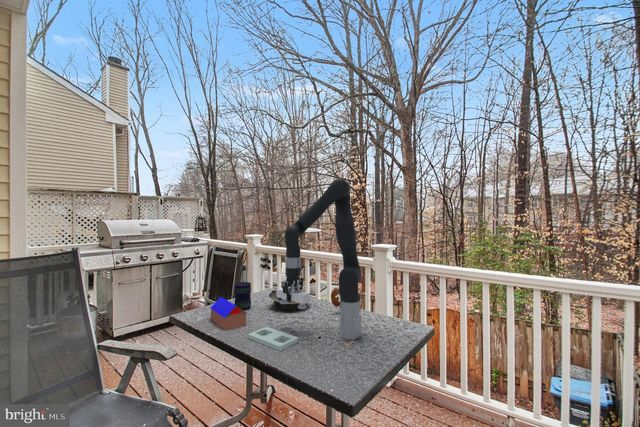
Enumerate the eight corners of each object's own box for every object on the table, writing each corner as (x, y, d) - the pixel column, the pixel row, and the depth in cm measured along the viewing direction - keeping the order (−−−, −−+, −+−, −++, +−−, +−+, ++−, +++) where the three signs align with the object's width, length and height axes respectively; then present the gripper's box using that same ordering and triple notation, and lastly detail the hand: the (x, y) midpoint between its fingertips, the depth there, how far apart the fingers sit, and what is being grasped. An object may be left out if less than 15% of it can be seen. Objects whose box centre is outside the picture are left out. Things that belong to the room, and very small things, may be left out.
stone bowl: (271, 300, 207) (272, 286, 207) (309, 303, 207) (310, 289, 207) (264, 312, 182) (266, 296, 182) (307, 316, 182) (309, 300, 182)
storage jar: (234, 306, 194) (234, 282, 194) (250, 305, 197) (250, 281, 197) (234, 311, 185) (234, 286, 184) (251, 310, 188) (251, 285, 187)
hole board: (298, 341, 143) (298, 337, 143) (280, 351, 134) (280, 346, 134) (266, 330, 156) (267, 326, 156) (247, 338, 147) (247, 334, 147)
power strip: (310, 307, 152) (310, 292, 152) (303, 310, 148) (303, 294, 148) (283, 300, 163) (283, 286, 163) (276, 303, 159) (276, 288, 159)
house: (224, 331, 156) (224, 307, 155) (210, 320, 171) (210, 298, 171) (246, 325, 163) (247, 303, 163) (231, 315, 179) (231, 295, 178)
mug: (355, 312, 186) (356, 286, 185) (356, 316, 177) (356, 290, 177) (331, 311, 187) (331, 285, 187) (330, 315, 179) (330, 289, 179)
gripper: (288, 269, 147) (288, 305, 147) (308, 265, 158) (308, 298, 159) (277, 267, 152) (277, 302, 152) (297, 263, 163) (297, 296, 163)
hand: (292, 300), depth 155 cm, fingers closed on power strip, 5 cm apart
